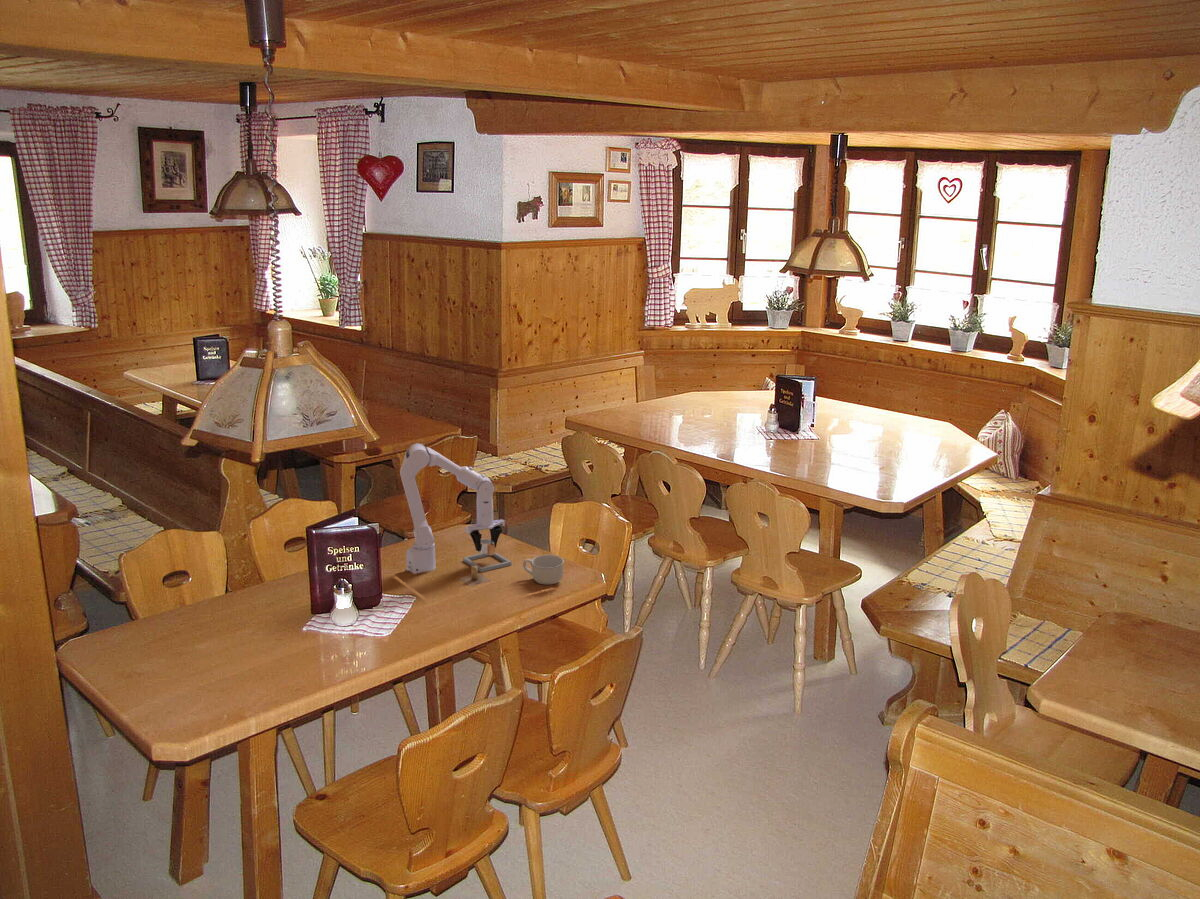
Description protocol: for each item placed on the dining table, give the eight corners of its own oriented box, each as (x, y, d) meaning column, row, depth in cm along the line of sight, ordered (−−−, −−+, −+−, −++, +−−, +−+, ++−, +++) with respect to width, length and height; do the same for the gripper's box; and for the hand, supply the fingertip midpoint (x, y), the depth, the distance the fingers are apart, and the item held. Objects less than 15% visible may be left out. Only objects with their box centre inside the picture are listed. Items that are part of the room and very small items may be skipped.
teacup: (569, 579, 333) (569, 557, 331) (554, 591, 324) (554, 568, 322) (533, 572, 339) (532, 551, 337) (517, 583, 329) (517, 561, 327)
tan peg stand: (469, 588, 325) (469, 573, 324) (458, 580, 332) (458, 565, 330) (491, 582, 330) (490, 568, 329) (479, 575, 336) (479, 560, 335)
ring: (485, 556, 340) (485, 546, 339) (475, 550, 346) (474, 540, 345) (499, 553, 343) (499, 543, 342) (489, 547, 349) (488, 537, 348)
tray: (481, 574, 337) (481, 568, 337) (463, 562, 347) (463, 557, 347) (511, 567, 344) (511, 561, 343) (493, 555, 354) (492, 550, 354)
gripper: (471, 518, 334) (473, 556, 338) (509, 510, 342) (509, 547, 346) (462, 513, 340) (463, 550, 343) (498, 505, 348) (499, 542, 351)
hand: (485, 548), depth 345 cm, fingers closed on ring, 6 cm apart
